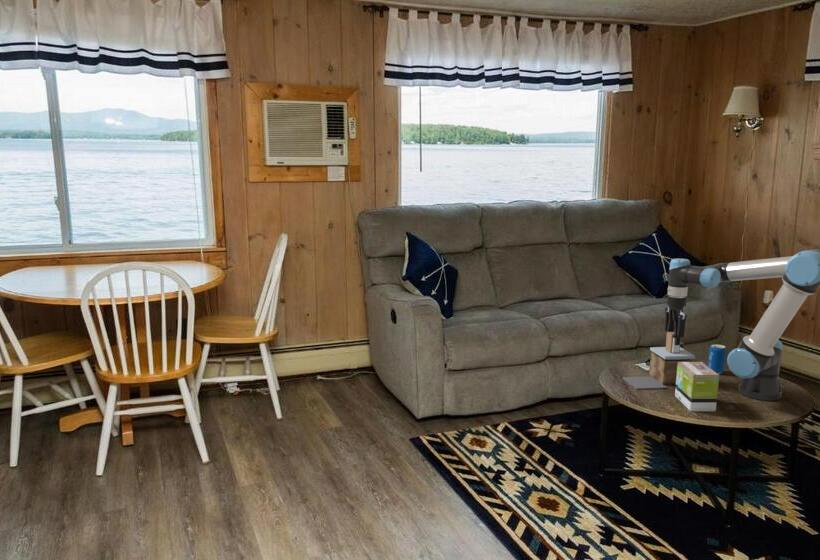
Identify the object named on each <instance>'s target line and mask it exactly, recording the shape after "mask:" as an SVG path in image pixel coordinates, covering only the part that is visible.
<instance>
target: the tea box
mask: <svg viewBox="0 0 820 560" xmlns="http://www.w3.org/2000/svg"><path fill="white" fill-rule="evenodd" d="M719 383H720V374H717V373H716V372H715V371H713V370H712V369H711V368H709V367H708V364H706V363H704V362H702V361H692V362H678V365H677V377H676V384H675V391H674V396H675V398H676V399H678V401H680V402H681V403H682V405H683V406H685V408H687V409H688V411H689V412H716V411H717V403H718V402H717V400H718V393H719Z"/></svg>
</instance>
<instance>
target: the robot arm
mask: <svg viewBox="0 0 820 560" xmlns="http://www.w3.org/2000/svg"><path fill="white" fill-rule="evenodd" d="M668 270H669V271H668V284H667V285H668V287H667V296H666V305H668V307H665V308H664V311H665V312H664V313H665V318H664V331H665V332H666V333H667V332H674V336H673V344H672V352H673V353H676V352H679V345H680V342H681V340H680V338H684V337H685V330H686V321H687V317H688V315H687V314H685V313H684V308H685V307H686V306H687V300H688V298H687V297H688V289H689V285H695V286H700V287H705V288H716V287H717V286H718V285H719V284H720V283H727V282H735V281H750V280H761V279H762V280H763V279H775V278H781V279H782V283H783V284H782V285H781V287H780V288H779V290H778V292H777V293H776V294H775V296H774V298H773V300H772V301H771V303H770V304H769V305H768V308H767V309H766V310H765V312H764V314H763V315H762V316H761V318H760V320H759V321H758V323H757V324H756V326H755V328H753V330H752V332H751V334H750V335H746V336H744V337H743V338H742V340H741V341H740V343H739V344H738V346H737V347H736V348H734V349H732V350H731V351H730V352H729V353H728V355H727V357H726V358H727V359H726V363H727V366H728V368H729V370H730V371H731V373H732V374H734V376H736V377H737V378H741V381H740V383H739V384H738V393H740V394H741V395H743V396H745V397H748V398H751V399H754V400H760V401H770V402H771V401H777V400H780V399H781V398H782V395H783V394H782V393H783V392H782V387H781V384H780V383H781V382H780V378H779V377H780V376H779V375H780V370H781V361H782V356H783V355H782V354H783V351H784V349H783V343H782V342H781V340H779V339H780V337H782V334H783V333H784V332H785V330H786V329H787V328H788V326H789V325H790V323H791V321H792V320H793V318H794V317H795V316H796V314H797V312H798V311H799V310H800V308H801V307H802V305H803V304H804V302H805V301H806V299H807V298H808V297H809V296H811V295H815V294H816V293H817V292H818V290H819V289H820V248H814V249H810V250H809V249H808V250H802V251H799V252H797V253H796V254H794V255H791V256H780V257H773V258H763V259H761V258H760V259H752V260H751V259H750V260H744V261H742V260H741V261H736V262H735V261H733V262H720V263H719V262H718V263H716V264H711V265H705V266H699V265H697V266H696V265H692V264H691V261H690V260H689V259H688V258H672V259H671V260H670V263H669V269H668Z"/></svg>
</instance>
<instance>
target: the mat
mask: <svg viewBox="0 0 820 560" xmlns="http://www.w3.org/2000/svg"><path fill="white" fill-rule="evenodd" d="M622 380H623V381H625V382H626V383H627V382H628V383H627V384H629V385H630V386H631V385H632V386H633V387H632V386H631V387H632V388H634V389H635V390H636V389H641V390H664V389H663V388H667V389H668V387H667V386H666V385H663V384H662V383H660V382H659V381H658V380H656V379H655V378H653V377H652V376H650V375H649V376H623V377H622ZM660 388H661V389H660Z"/></svg>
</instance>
